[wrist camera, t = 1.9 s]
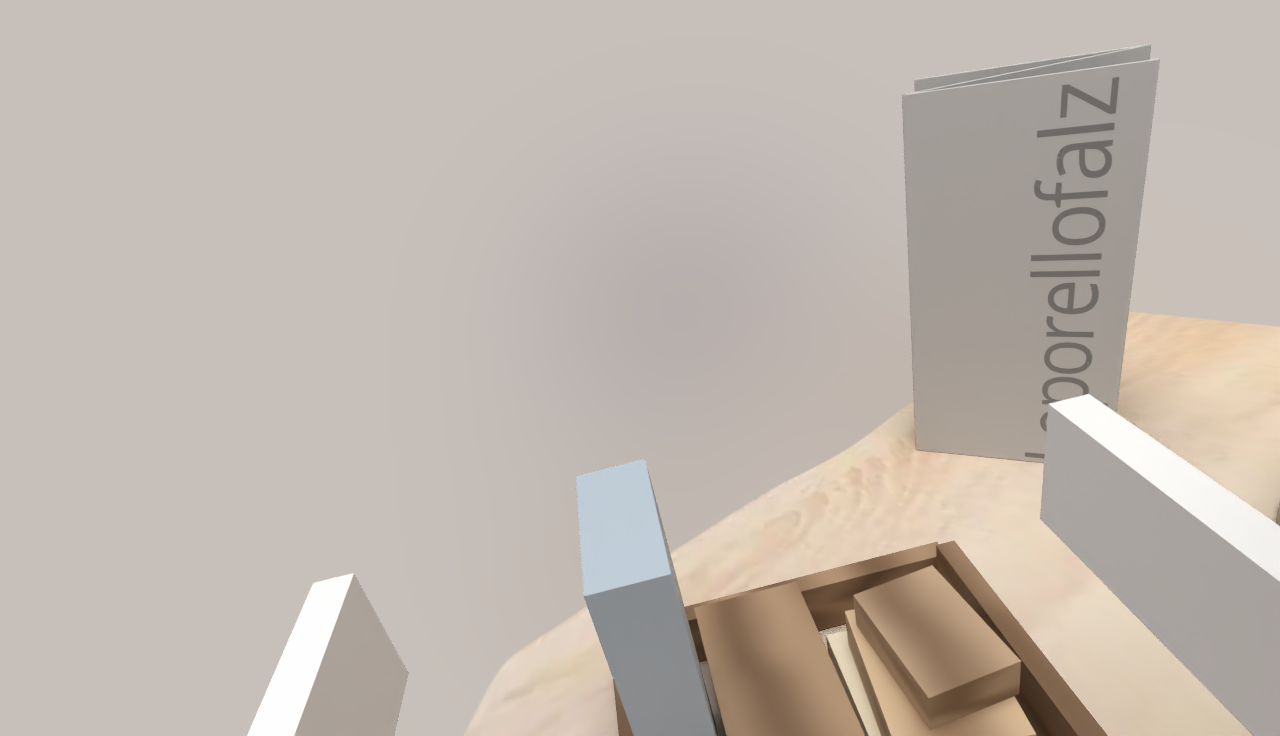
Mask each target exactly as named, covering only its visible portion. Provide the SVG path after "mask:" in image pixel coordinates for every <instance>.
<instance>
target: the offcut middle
mask: <svg viewBox="0 0 1280 736" xmlns="http://www.w3.org/2000/svg"><path fill="white" fill-rule="evenodd" d="M845 618H846V628H847V637H848V645H849V648H850V651H851V654H852V656H853V659H854V662H855V665H856V667H857V670H858V673H859V676H860V679H861V681H862V684H863V687H864V690H865V692H866V695H867V698H868V701H869V704H870V706H871V709H872V712H873V715H874V717H875V720H876V723H877V726H878V729H879V731H880V734H881V736H1036V733H1035V731H1034V729H1033V728H1032V726H1031V724H1030V722H1029V721H1028V719H1027V717H1026V715H1025V714H1024V712H1023V710H1022V708H1021V707H1020V705H1019V703H1018V701H1017V700H1016V698H1015V696H1013V697H1011V698H1008V699H1006V700H1003V701H1001V702H998V703H996V704H993V705H991V706H989V707H986V708H984V709H981V710H979V711H976V712H974V713H971V714H969V715H967V716H964V717H962V718H959V719H957V720H954V721H952V722H949V723H947V724H945V725H942V726H940V727H937V728H935V729H932V730H929V728H928V727H927V726H926V724H925V723H924V721H923V720H922V718H921V717H920V716H919V714H918V713H917V711H916V710H915V708H914V707H913V706H912V704H911V703H910V701H909V700H908V698H907V697H906V696H905V694H904V693H903V691H902V690H901V688H900V687H899V686H898V684H897V683H896V681H895V680H894V678H893V677H892V676H891V674H890V673H889V671H888V670H887V668H886V667H885V666H884V664H883V663H882V661H881V660H880V658H879V657H878V656H877V654H876V653H875V651H874V650H873V648H872V647H871V646H870V644H869V643H868V641H867V640H866V638H865V637H864V636H863V634H862V633H861V631H860V630H859V628H858V627H857V626H856V617H855V609H854V610H848V611H845Z"/></svg>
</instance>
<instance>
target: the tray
mask: <svg viewBox="0 0 1280 736" xmlns="http://www.w3.org/2000/svg"><path fill="white" fill-rule="evenodd" d="M932 565H933V567H934V568H935V569H936V570H937V571H938V572H939V573H940V574H941V575H942V576H943V577H944V578H945V579H946V581H947V582H948V583H949V584H950V585H951V586H952V587H953V588H954V589H955V590H956V591H957V592H958V593H959V595H960V596H961V597H962V598H963V599H964V600H965V601H966V602H967V603H968V604H969V605H970V606H971V608H972V609H973V610H974V611H975V612H976V613H977V614H978V615H979V616H980V617H981V618H982V619H983V620H984V622H985V623H986V624H987V625H988V626H989V627H990V628H991V629H992V630H993V631H994V632H995V633H996V635H997V636H998V637H999V638H1000V639H1001V640H1002V641H1003V642H1004V643H1005V644H1006V645H1007V646H1008V647H1009V649H1010V650H1011V651H1012V652H1013V653H1014V654H1015V655H1016V656H1017V657H1018V658H1019V659H1020V660H1021V671H1020V688H1019V694H1018V695H1016V696H1015V698H1016V700H1017V701H1018V703H1019V705H1020V707H1021V708H1022V710H1023V712H1024V714H1025V715H1026V717H1027V719H1028V721H1029V722H1030V724H1031V726H1032V728H1033V729H1034V731H1035V733H1036V736H1107V734H1106V733H1105V732H1104V730H1103V729H1102V728H1101V727H1100V725H1099V724H1098V723H1097V722H1096V720H1095V719H1094V718H1093V716H1092V715H1091V714H1090V713H1089V711H1088V710H1087V709H1086V708H1085V706H1084V705H1083V704H1082V703H1081V701H1080V700H1079V699H1078V697H1077V696H1076V695H1075V694H1074V692H1073V691H1072V690H1071V689H1070V687H1069V686H1068V685H1067V683H1066V682H1065V681H1064V680H1063V678H1062V677H1061V676H1060V675H1059V673H1058V672H1057V671H1056V669H1055V668H1054V667H1053V666H1052V664H1051V663H1050V662H1049V661H1048V659H1047V658H1046V657H1045V656H1044V654H1043V653H1042V652H1041V650H1040V649H1039V648H1038V647H1037V645H1036V644H1035V643H1034V642H1033V640H1032V639H1031V638H1030V636H1029V635H1028V634H1027V633H1026V631H1025V630H1024V629H1023V628H1022V626H1021V625H1020V624H1019V622H1018V621H1017V620H1016V619H1015V617H1014V616H1013V615H1012V614H1011V612H1010V611H1009V610H1008V608H1007V607H1006V606H1005V605H1004V603H1003V602H1002V601H1001V600H1000V598H999V597H998V596H997V595H996V593H995V592H994V591H993V589H992V588H991V587H990V586H989V584H988V583H987V582H986V581H985V579H984V578H983V577H982V575H981V574H980V573H979V572H978V570H977V569H976V568H975V567H974V565H973V564H972V563H971V561H970V560H969V559H968V558H967V556H966V555H965V554H964V553H963V551H962V550H961V549H960V548H959V546H958V545H957V544H956V542H955V541H951V542H947V543H943V544H938V543H937V542H934V543H931V544H927V545H923V546H919V547H915V548H911V549H907V550H903V551H900V552H896V553H892V554H888V555H884V556H880V557H876V558H872V559H869V560H865V561H861V562H857V563H853V564H849V565H845V566H842V567H838V568H834V569H830V570H826V571H822V572H818V573H814V574H811V575H807V576H803V577H799V578H795V579H791V580H787V581H783V582H780V583H776V584H772V585H768V586H764V587H760V588H756V589H752V590H749V591H745V592H741V593H737V594H733V595H729V596H725V597H721V598H718V599H714V600H710V601H706V602H702V603H698V604H694V605H690V606H687V607H685V611H686V615H687V619H688V622H689V626H690V630H691V634H692V637H693V641H694V645H695V649H696V652H697V656H698V660H699V662H700V661H704V660H707V661H708V665H709V669H710V673H711V677H712V681H713V685H714V689H715V693H716V697H717V701H718V705H719V709H720V713H721V717H722V721H723V725H724V728H725V732H726V736H865V734H864V732H863V730H862V728H861V725H860V723H859V721H858V719H857V716H856V714H855V712H854V710H853V707H852V705H851V703H850V701H849V699H848V696H847V694H846V692H845V690H844V687H843V685H842V683H841V681H840V678H839V676H838V674H837V672H836V669H835V667H834V665H833V663H832V661H831V658H830V656H829V654H828V652H827V649H826V647H825V645H824V643H823V640H822V638H821V636H820V634H819V630H823V629H827V628H831V627H835V626H839V625H843V624H846V618H845V611H848V610H854V609H855V608H854V598H853V595H855V594H857V593H860V592H863V591H865V590H868V589H871V588H873V587H876V586H879V585H881V584H884V583H887V582H889V581H892V580H894V579H897V578H900V577H902V576H905V575H908V574H910V573H913V572H916V571H918V570H921V569H924V568H926V567H929V566H932ZM613 681H614V679H613ZM614 691H615V701H616V711H617V721H618V730H619V736H634V735H633V732H632V729H631V727H630V724H629V721H628V718H627V715H626V713H625V710H624V707H623V704H622V701H621V699H620V696H619V693H618V690H617V687H616V685H615V682H614Z"/></svg>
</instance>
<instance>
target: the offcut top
mask: <svg viewBox="0 0 1280 736" xmlns="http://www.w3.org/2000/svg"><path fill="white" fill-rule="evenodd" d="M853 598H854V608H855V617H856V626H857V627H858V628H859V630H860V631H861V633H862V634H863V636H864V637H865V638H866V640H867V641H868V643H869V644H870V646H871V647H872V648H873V650H874V651H875V653H876V654H877V656H878V657H879V658H880V660H881V661H882V663H883V664H884V666H885V667H886V668H887V670H888V671H889V673H890V674H891V676H892V677H893V678H894V680H895V681H896V683H897V684H898V686H899V687H900V688H901V690H902V691H903V693H904V694H905V696H906V697H907V698H908V700H909V701H910V703H911V704H912V706H913V707H914V708H915V710H916V711H917V713H918V714H919V716H920V717H921V718H922V720H923V721H924V723H925V724H926V726H927V727H928V728H929V730H932V729H935V728H937V727H940V726H942V725H945V724H947V723H949V722H952V721H954V720H957V719H959V718H962V717H964V716H967V715H969V714H971V713H974V712H976V711H979V710H981V709H984V708H986V707H989V706H991V705H993V704H996V703H998V702H1001V701H1003V700H1006V699H1008V698H1011V697H1013V696H1016V695H1018V694H1019V688H1020V671H1021V660H1020V659H1019V658H1018V657H1017V656H1016V655H1015V654H1014V653H1013V652H1012V651H1011V650H1010V649H1009V647H1008V646H1007V645H1006V644H1005V643H1004V642H1003V641H1002V640H1001V639H1000V638H999V637H998V636H997V635H996V633H995V632H994V631H993V630H992V629H991V628H990V627H989V626H988V625H987V624H986V623H985V622H984V620H983V619H982V618H981V617H980V616H979V615H978V614H977V613H976V612H975V611H974V610H973V609H972V608H971V606H970V605H969V604H968V603H967V602H966V601H965V600H964V599H963V598H962V597H961V596H960V595H959V593H958V592H957V591H956V590H955V589H954V588H953V587H952V586H951V585H950V584H949V583H948V582H947V581H946V579H945V578H944V577H943V576H942V575H941V574H940V573H939V572H938V571H937V570H936V569H935V568H934V567H933V565H932V566H929V567H926V568H924V569H921V570H918V571H916V572H913V573H910V574H908V575H905V576H902V577H900V578H897V579H894V580H892V581H889V582H887V583H884V584H881V585H879V586H876V587H873V588H871V589H868V590H865V591H863V592H860V593H857V594H855V595H853Z"/></svg>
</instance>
